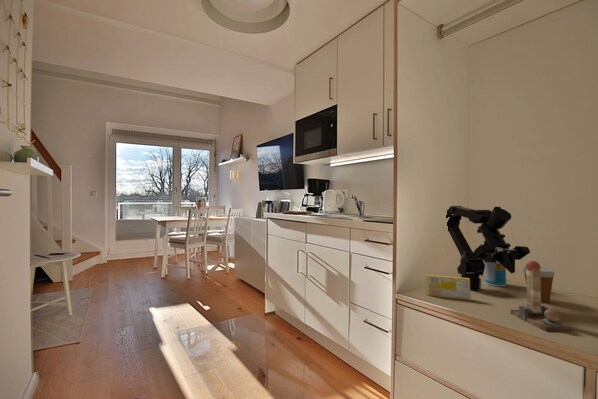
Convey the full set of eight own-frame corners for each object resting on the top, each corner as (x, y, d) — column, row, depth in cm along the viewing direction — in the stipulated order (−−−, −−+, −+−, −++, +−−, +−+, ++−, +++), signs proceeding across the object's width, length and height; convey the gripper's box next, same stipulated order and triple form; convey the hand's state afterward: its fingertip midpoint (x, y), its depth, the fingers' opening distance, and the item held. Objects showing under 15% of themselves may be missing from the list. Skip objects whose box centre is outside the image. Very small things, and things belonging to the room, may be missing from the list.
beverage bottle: (482, 284, 132) (481, 240, 132) (487, 280, 138) (486, 239, 138) (504, 288, 126) (503, 242, 126) (508, 284, 132) (508, 240, 132)
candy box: (470, 299, 113) (469, 277, 113) (470, 300, 111) (470, 279, 111) (425, 293, 120) (424, 273, 120) (425, 295, 118) (424, 275, 118)
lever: (522, 312, 94) (521, 259, 95) (535, 312, 95) (535, 259, 95) (531, 317, 91) (531, 262, 91) (545, 316, 91) (544, 262, 91)
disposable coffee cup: (561, 305, 105) (561, 272, 105) (532, 303, 107) (531, 271, 107) (545, 296, 114) (544, 266, 114) (518, 295, 116) (517, 265, 116)
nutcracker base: (510, 313, 98) (509, 296, 98) (533, 313, 98) (532, 296, 98) (545, 331, 84) (545, 312, 84) (572, 330, 84) (572, 311, 84)
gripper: (501, 248, 119) (521, 283, 108) (459, 246, 117) (475, 282, 106) (519, 232, 110) (543, 269, 100) (474, 230, 108) (494, 267, 98)
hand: (513, 272), depth 101 cm, fingers closed
